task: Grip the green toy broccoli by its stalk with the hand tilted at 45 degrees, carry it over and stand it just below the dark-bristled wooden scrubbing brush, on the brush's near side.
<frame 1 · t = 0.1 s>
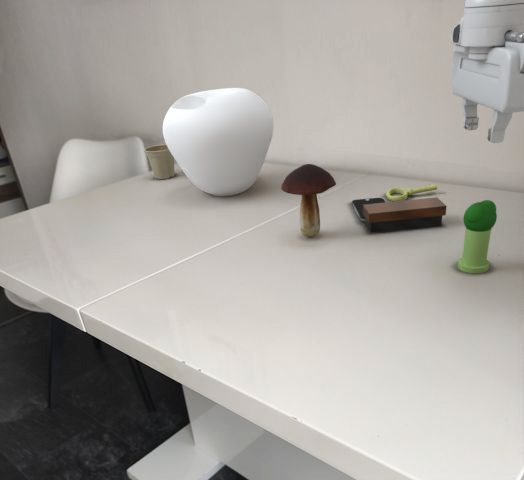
hand: (482, 135, 82), 23 cm above the table, tool pointing down, fingers open, 8 cm apart
key: (409, 196, 131), on the table
flower pot: (164, 177, 166), on the table
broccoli: (473, 267, 95), on the table
smartphone: (372, 211, 124), on the table
vase: (226, 191, 148), on the table
decorative mushroom: (310, 237, 114), on the table
brush: (402, 225, 115), on the table
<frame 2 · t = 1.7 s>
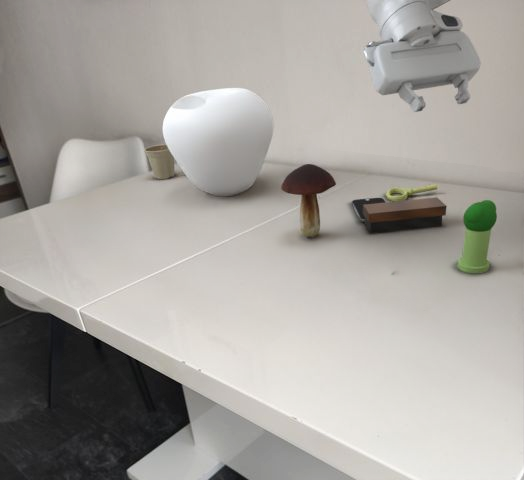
hand: (442, 105, 91), 25 cm above the table, tool tilted 45°, fingers open, 8 cm apart
nothing on the table moved.
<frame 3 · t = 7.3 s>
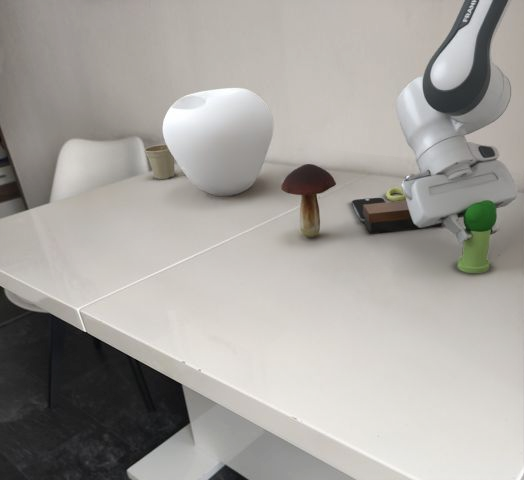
hand: (480, 236, 92), 6 cm above the table, tool tilted 45°, fingers closed on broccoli, 4 cm apart
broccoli: (473, 267, 95), on the table, touching gripper
everything else where it was.
when the fingers open (6 cm above the table, at t = 15.3 s): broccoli stays where it is, on the table.
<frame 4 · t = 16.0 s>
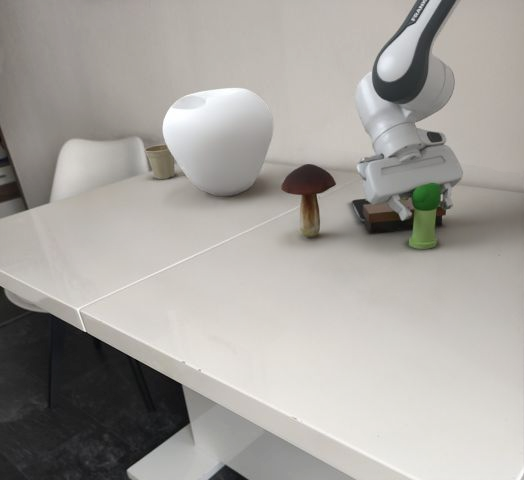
hand: (428, 213, 102), 6 cm above the table, tool tilted 45°, fingers open, 8 cm apart
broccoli: (422, 243, 106), on the table
everything else where it was.
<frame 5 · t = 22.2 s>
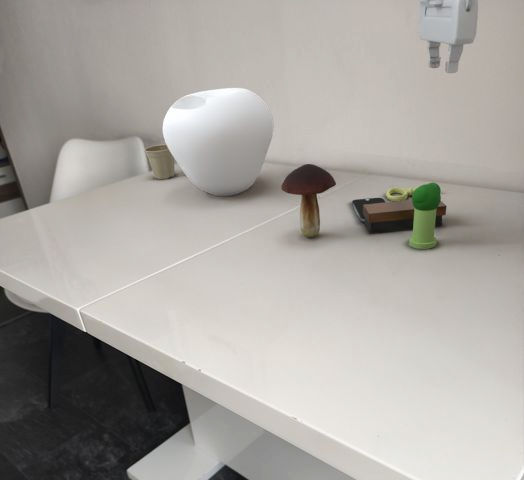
hand: (442, 70, 100), 29 cm above the table, tool pointing down, fingers open, 8 cm apart
nothing on the table moved.
at the end: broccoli inside the target area on the table beside the brush (1.0 cm from its centre), on the table; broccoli tilted 0°; the gripper is holding nothing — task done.
